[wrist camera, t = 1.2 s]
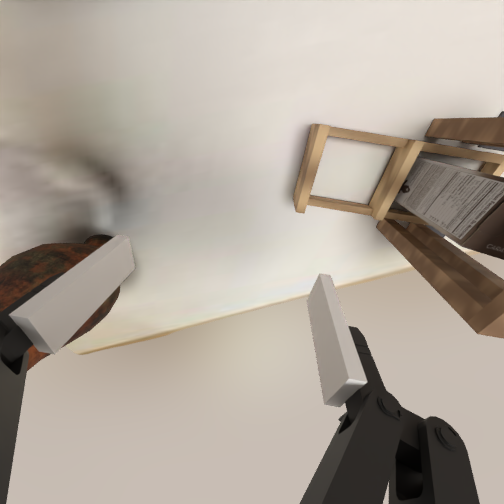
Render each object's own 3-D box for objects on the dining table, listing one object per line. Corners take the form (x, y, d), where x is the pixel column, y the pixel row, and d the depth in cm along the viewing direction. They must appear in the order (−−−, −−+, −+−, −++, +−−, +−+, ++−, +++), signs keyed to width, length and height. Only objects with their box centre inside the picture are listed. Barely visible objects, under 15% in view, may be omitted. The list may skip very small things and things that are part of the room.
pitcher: (160, 265, 45) (16, 444, 20) (107, 296, 53) (-44, 453, 28) (97, 204, 38) (-242, 360, 13) (46, 250, 46) (-226, 403, 21)
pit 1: (426, 223, 34) (427, 223, 34) (449, 226, 34) (451, 227, 34) (412, 243, 36) (413, 243, 36) (434, 246, 36) (435, 247, 36)
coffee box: (468, 171, 29) (630, 213, 16) (435, 211, 33) (545, 273, 19) (409, 153, 29) (526, 181, 15) (382, 196, 32) (459, 248, 19)
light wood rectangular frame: (311, 123, 28) (320, 124, 22) (500, 154, 27) (550, 162, 22) (292, 198, 33) (295, 212, 28) (447, 224, 33) (478, 242, 28)
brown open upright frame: (434, 118, 26) (758, 111, 9) (487, 127, 26) (924, 138, 9) (376, 227, 35) (477, 333, 17) (415, 233, 35) (557, 347, 17)
